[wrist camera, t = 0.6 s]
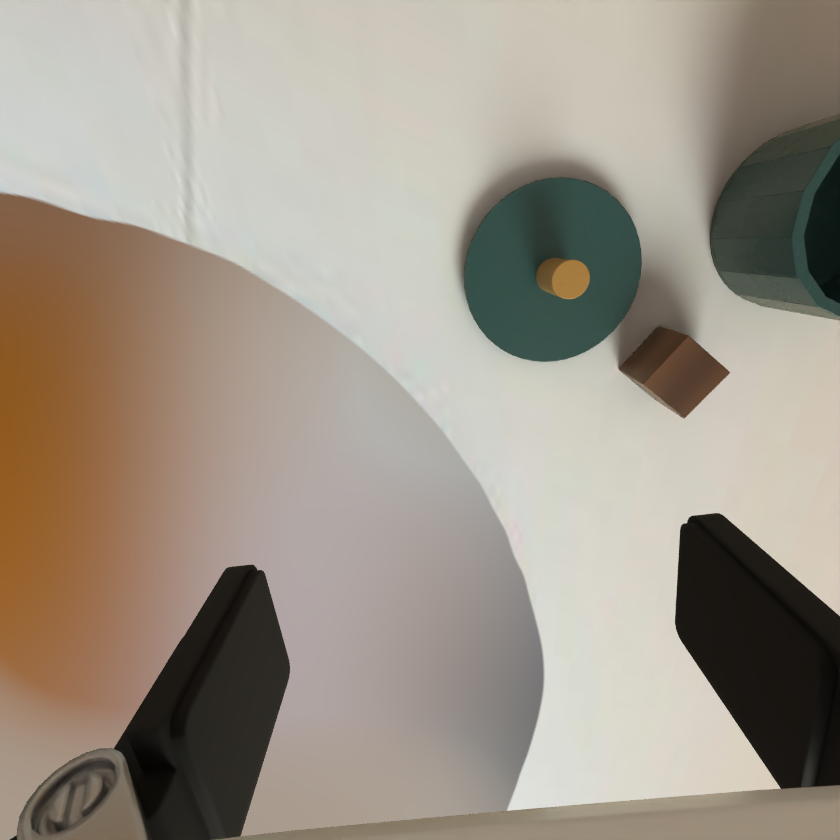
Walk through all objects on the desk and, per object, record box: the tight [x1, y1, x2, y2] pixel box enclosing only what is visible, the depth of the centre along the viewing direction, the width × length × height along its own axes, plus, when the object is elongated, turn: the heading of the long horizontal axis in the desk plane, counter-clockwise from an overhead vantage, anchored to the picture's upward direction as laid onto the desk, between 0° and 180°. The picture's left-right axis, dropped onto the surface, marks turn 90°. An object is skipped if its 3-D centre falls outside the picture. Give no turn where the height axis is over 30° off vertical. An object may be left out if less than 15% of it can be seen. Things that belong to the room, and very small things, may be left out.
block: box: [619, 326, 730, 418], centre depth 41 cm, size 5×5×5 cm
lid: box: [464, 178, 642, 362], centre depth 38 cm, size 15×15×6 cm
